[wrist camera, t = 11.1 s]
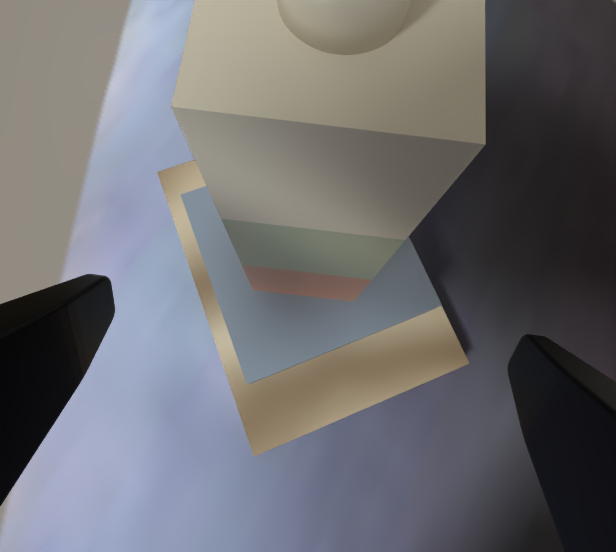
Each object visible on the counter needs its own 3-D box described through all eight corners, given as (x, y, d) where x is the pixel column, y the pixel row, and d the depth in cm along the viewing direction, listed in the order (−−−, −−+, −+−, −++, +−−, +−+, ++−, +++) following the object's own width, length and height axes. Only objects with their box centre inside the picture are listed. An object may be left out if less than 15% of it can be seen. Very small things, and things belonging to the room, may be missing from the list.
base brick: (424, 313, 20) (441, 305, 17) (252, 383, 18) (246, 384, 16) (352, 160, 22) (360, 134, 19) (192, 215, 20) (180, 194, 18)
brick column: (353, 301, 17) (518, 105, 5) (252, 290, 17) (151, 61, 5) (361, 208, 18) (509, -149, 6) (266, 197, 18) (213, -188, 6)
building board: (459, 364, 20) (469, 363, 19) (256, 451, 19) (254, 456, 18) (345, 123, 23) (347, 110, 22) (164, 182, 22) (157, 172, 21)
